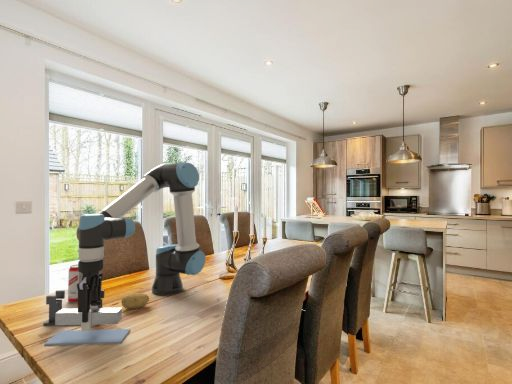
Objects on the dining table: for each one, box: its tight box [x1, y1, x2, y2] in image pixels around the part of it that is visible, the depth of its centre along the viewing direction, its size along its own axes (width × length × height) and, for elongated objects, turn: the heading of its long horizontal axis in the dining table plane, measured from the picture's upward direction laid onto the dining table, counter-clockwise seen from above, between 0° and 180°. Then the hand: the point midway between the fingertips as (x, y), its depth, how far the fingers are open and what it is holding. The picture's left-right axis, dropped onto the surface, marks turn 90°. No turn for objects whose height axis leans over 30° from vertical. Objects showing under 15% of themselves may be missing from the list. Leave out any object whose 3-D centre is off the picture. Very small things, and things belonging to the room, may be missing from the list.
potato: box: [120, 292, 150, 310], centre depth 127 cm, size 7×11×6 cm, turn 107°
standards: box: [42, 289, 105, 327], centre depth 112 cm, size 20×7×11 cm, turn 95°
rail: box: [55, 307, 123, 326], centre depth 100 cm, size 20×4×4 cm, turn 95°
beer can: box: [67, 264, 83, 304], centre depth 133 cm, size 6×6×16 cm
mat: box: [43, 328, 131, 346], centre depth 100 cm, size 24×9×1 cm, turn 95°
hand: (89, 327), depth 100 cm, fingers closed on rail, 4 cm apart
